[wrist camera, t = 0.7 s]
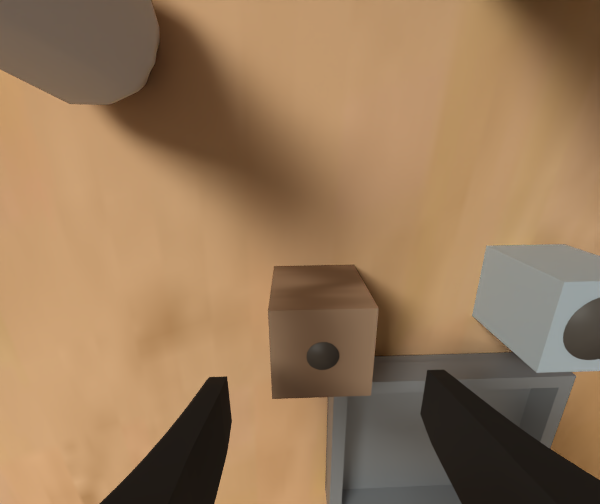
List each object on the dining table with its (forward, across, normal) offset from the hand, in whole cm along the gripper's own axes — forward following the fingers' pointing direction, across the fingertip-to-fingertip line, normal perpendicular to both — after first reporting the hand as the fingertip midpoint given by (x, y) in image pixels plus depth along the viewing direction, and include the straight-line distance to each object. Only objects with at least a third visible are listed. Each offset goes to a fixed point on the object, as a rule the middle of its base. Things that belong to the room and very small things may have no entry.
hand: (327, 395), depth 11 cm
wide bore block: (+7, -12, -1) cm, 14 cm away
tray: (+7, -8, +10) cm, 15 cm away
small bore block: (+7, 0, 0) cm, 7 cm away
